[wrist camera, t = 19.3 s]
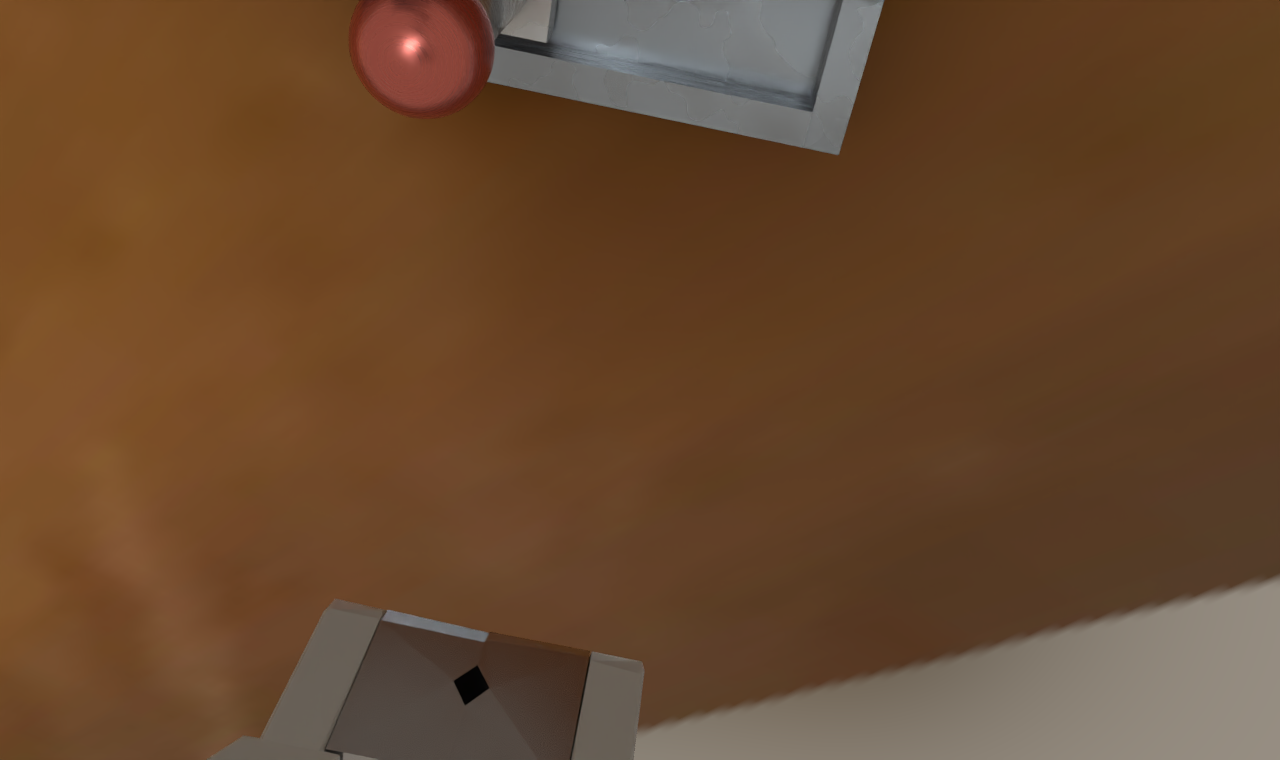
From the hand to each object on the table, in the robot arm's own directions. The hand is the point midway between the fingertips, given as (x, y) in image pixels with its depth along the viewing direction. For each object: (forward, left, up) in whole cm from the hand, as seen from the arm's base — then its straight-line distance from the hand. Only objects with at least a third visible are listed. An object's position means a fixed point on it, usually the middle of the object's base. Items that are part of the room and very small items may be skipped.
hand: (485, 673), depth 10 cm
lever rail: (0, -2, -29) cm, 29 cm away
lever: (0, -6, -28) cm, 28 cm away
